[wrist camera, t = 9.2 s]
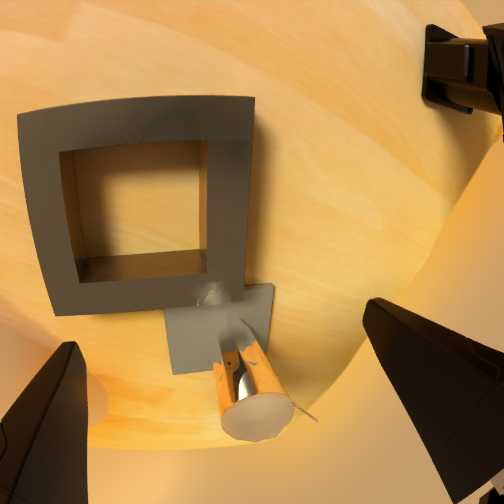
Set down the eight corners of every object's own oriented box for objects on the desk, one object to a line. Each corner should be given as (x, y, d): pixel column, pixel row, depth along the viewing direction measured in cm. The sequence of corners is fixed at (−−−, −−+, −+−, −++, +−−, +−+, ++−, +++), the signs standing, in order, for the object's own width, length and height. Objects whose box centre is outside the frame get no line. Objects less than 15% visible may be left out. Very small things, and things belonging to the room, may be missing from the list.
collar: (240, 95, 17) (255, 97, 15) (232, 275, 23) (243, 300, 20) (36, 110, 14) (17, 114, 11) (64, 289, 20) (55, 316, 17)
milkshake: (273, 333, 26) (324, 433, 18) (214, 361, 26) (246, 467, 17) (254, 295, 24) (309, 404, 15) (188, 326, 23) (215, 444, 15)
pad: (271, 283, 24) (273, 286, 24) (263, 358, 28) (264, 362, 27) (161, 294, 22) (162, 298, 22) (172, 370, 26) (172, 374, 25)
